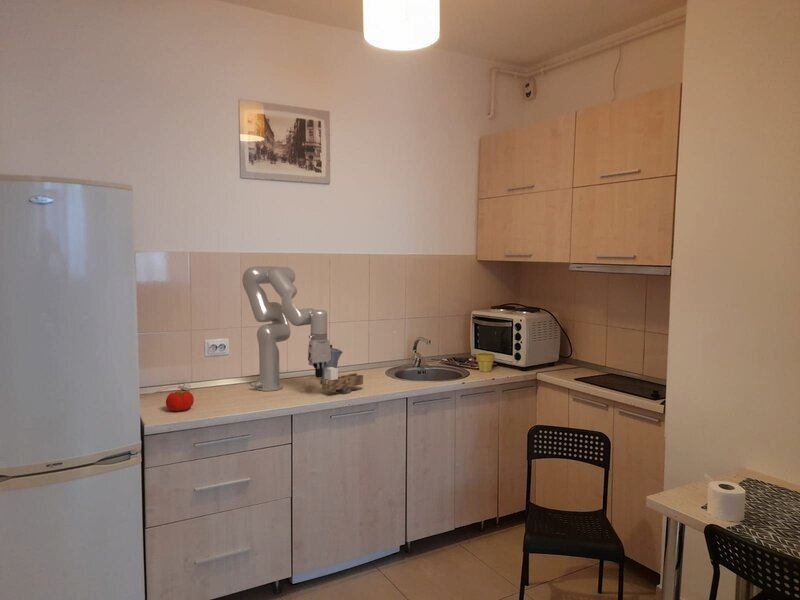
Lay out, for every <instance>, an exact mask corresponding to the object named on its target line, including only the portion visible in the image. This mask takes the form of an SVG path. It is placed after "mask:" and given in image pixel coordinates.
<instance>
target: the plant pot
mask: <svg viewBox="0 0 800 600" xmlns="http://www.w3.org/2000/svg"><path fill="white" fill-rule="evenodd" d="M495 356H496V355H495V353H493V352H477V353H476V357H475V359H476V360H477V361H476V362H477V365H478V370H479V372H483V373H489V371H490V372H491V371H492V368H493V364H494V361H495V358H496V357H495Z"/></svg>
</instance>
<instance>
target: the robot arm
mask: <svg viewBox="0 0 800 600" xmlns="http://www.w3.org/2000/svg"><path fill="white" fill-rule="evenodd" d="M295 281H296V273H295V272H294V270H293V268H290V267H286V266H283V267H282V266H272V265H271V266H265V265H264V266H251V267H248V268H247V269H246V270H245V271H244V273H243V274H242V287H243V288H244V290H245V293H246V295H247V298H248V301H249V304H250V307H251V310H252V314H253V317H254V319H255V321H256V322H258V323H264V324H262V325H261V326H260V327H258V329H257V331H256V339H257V343H258V353H259V354H258V356H259V357H258V360H259V369H258V371H259V372H258V373H259V377H258V378H259V379H257V381H255V382H249V383H250V384H249V386H250V388H253V387H256V388H255V389H256V390H258V391H261V392H269V391H270V392H274V391H279V390H282V389H283V388H284V385H283V384H281V383H280V350H279V347H278V345H277V343H281V342H285V341H287V340H289V338H290V337H291V326H290V324H291V325H293V326H295V327H302V326H309V325H310V335H308V339H310V340H309V342H308V347H307V361H308V366H312V367H313V368H314V369H315V370H314V371H315V372H314V374H315V377H316V378H321V377H322V374H323V368H324V365H325V364H327V363H329V361H330V360H331V350H330V345H331V344H330V339H328V312H327V311H326V310H324V309H314V308H311V307H310V308H302V309H301V308H299V309H298V308H297V306H296V305H295V304H294V302H293V299H294V298H295V297H296V295H297V293H298V289H297V287H296V286H295V284H294V282H295ZM265 284H270V285H271V287H272V288H273V289H274V291H275V292H276V293H277V295H278V297H280V299H281V303H280V302H277V301H269V298H268V297H267V293H266V292H265V290H264V289H263V288H262V287H261V286H260V285H265ZM269 322H271V323H269ZM265 323H266V324H265ZM289 323H290V324H289Z"/></svg>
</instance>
